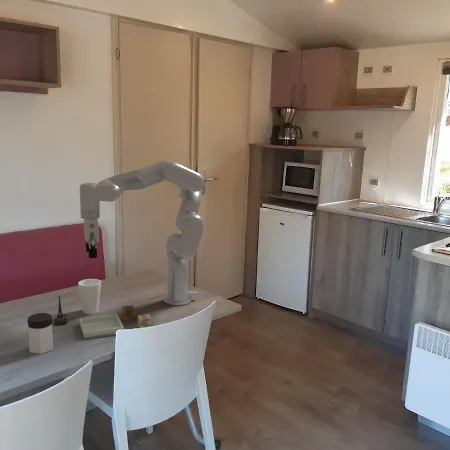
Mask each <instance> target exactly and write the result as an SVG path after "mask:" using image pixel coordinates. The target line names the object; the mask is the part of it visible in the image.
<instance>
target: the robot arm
mask: <svg viewBox="0 0 450 450" xmlns="http://www.w3.org/2000/svg"><path fill="white" fill-rule="evenodd" d="M163 182H169V183H170V184H173V185H175V186H177V187H179V188H180V191H181V196H182V197H181V202H180V206H179V209H178V212H177V216H176V219H175V222H174V223H175V227H176V229H177V230H179V231H180V232H181V233H178V232H175V233H171V234H170V235H169V236H168V237H167V239H166V242H165V250H166V257H167V259H166V262H167V264H166V265H167V269H166V271H167V275H166V276H167V278H166V280H167V283H166V285H167V286H166V288H167V289H166V291H167V292H166V295H165V296H164V297H163V302H164V303H165V304H167V305H169V306H184V305H188V304H190V303H191V302H192V297H193V296H194V297H196V296H199V292H198V291H194V290H189V260H192V258H194V257H195V255H196V254H197V252H198V251H199V247H200V243H201V240H202V237H203V235H204V230H205V222H204V220H203V218H202V217H201V216H200V215H199V210H200V207H201V203H202V193H201V190H203V188H204V187H205V186H204V185H205V180H204V177H203V176H202V175H201V174H200V173H198V172H196V171H194V170H192V169H189V168H187V167H185V166H184V165H182V164H179V163H178V162H175V161H172V160H167V159H165V160H160V161H157V162H154V163H152V164H149V165H145V166H143V167H141V168H137V169H134V170H131V171H127V172H123V173H118V174H116V175H113V176H110V177H107V178H105V179H102V180H100V181H99V182H97V183H95V182H85V183H81V184H80V185H79V203H80V205H79V206H80V207H79V209H80V219H83V233H84V238H85V252H86V253H88V259H97V258H98V247H97V243H99V242H100V232H99V231H100V230H99V220H98V219H99V218H101V209H100V208H101V207H100V206H101V205H100V203H101V202H115V201H117V200H118V199H119V198H120V196H121V193H122V192H125V191H133V190H136V191H138V190H139V191H140V190H145V189H147V188H149V187H150V188H151V187H152V186H155V185H157V184H160V183H163Z"/></svg>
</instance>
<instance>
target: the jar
mask: <svg viewBox="0 0 450 450" xmlns="http://www.w3.org/2000/svg"><path fill="white" fill-rule="evenodd" d="M52 319H53V315H52V314H51V313H47V312H38V313H34V314H31V315H30V316H28V318H27V326H28V327H27V330H28V333H27V334H28V346H29V349H28V351H29V353H30V354H31V353H32V354H37V355H38V354H39V355H43V354H46V353H48V352H51V351H53V350H54V336H53V335H54V334H53V333H54V332H52V330H53V325H52Z"/></svg>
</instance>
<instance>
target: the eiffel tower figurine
mask: <svg viewBox="0 0 450 450" xmlns="http://www.w3.org/2000/svg"><path fill="white" fill-rule="evenodd" d="M63 313H64V312H63V309H62V304H61V295H60V294H58V311H57V315H56V317H55V318H52V327H60V326H62V327H63V326H67V325H68V322H69V321H68V318H66V317H68V316H69V314H67V313H65V314H63ZM52 332H53V333H54V332H55V330H53V329H52Z"/></svg>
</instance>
